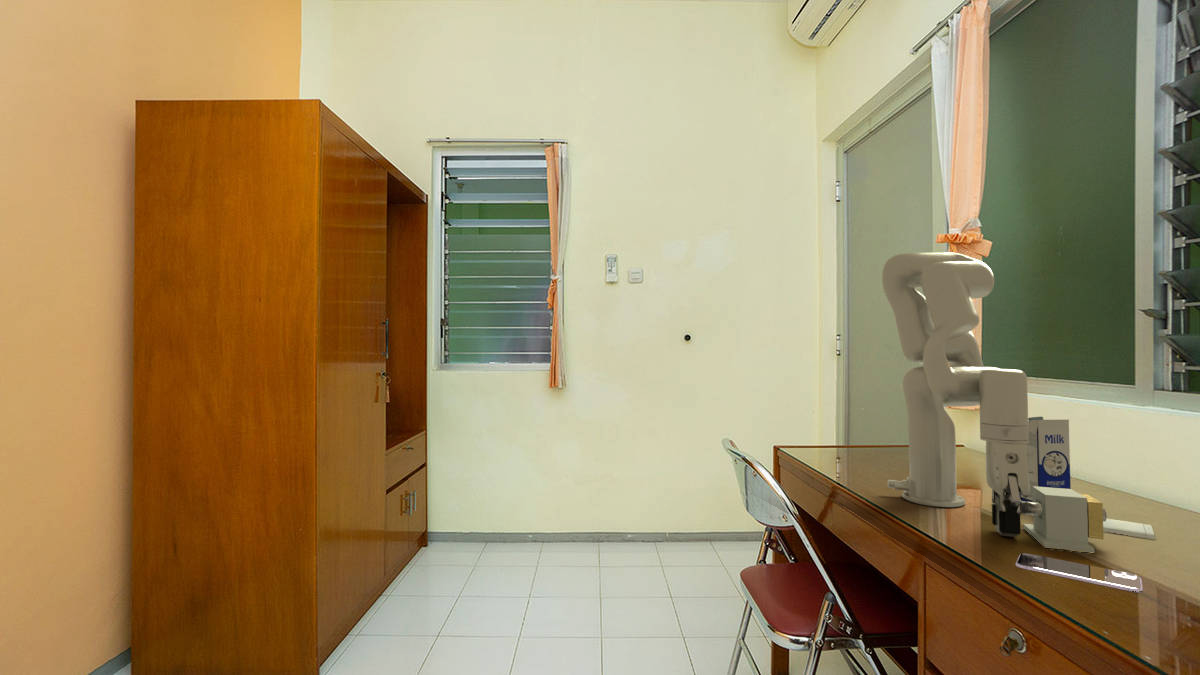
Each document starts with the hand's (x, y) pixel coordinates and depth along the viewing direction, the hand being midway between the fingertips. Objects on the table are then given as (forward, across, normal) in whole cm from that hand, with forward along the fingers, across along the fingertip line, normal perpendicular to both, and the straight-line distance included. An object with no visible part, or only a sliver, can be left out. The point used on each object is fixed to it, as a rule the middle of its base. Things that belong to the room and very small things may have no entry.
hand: (1006, 528), depth 106 cm
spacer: (-1, 0, -12) cm, 13 cm away
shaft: (+1, 0, -7) cm, 7 cm away
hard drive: (+2, +13, -20) cm, 24 cm away
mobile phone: (+2, -17, -5) cm, 18 cm away
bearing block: (+1, 0, -8) cm, 8 cm away
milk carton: (+1, +29, -14) cm, 32 cm away
